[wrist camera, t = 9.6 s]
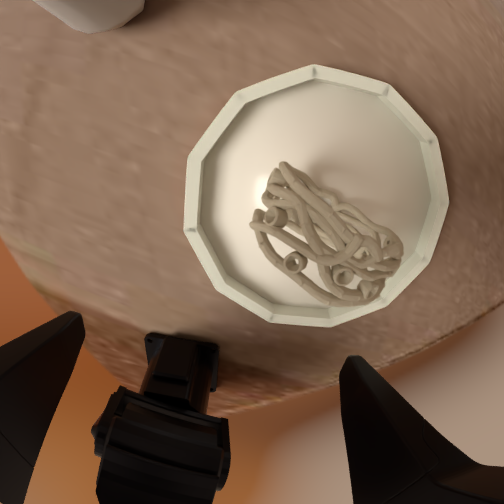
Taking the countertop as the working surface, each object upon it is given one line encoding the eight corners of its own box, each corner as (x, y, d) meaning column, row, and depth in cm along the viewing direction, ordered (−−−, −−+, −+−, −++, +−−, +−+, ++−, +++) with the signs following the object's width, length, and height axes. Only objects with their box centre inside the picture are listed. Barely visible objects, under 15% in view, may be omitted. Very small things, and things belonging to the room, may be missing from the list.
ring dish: (393, 317, 23) (400, 330, 21) (187, 297, 22) (182, 312, 21) (453, 113, 16) (467, 115, 14) (204, 57, 15) (199, 51, 13)
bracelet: (349, 258, 20) (389, 334, 13) (245, 206, 19) (236, 269, 11) (380, 209, 18) (441, 268, 11) (275, 149, 17) (287, 176, 10)
